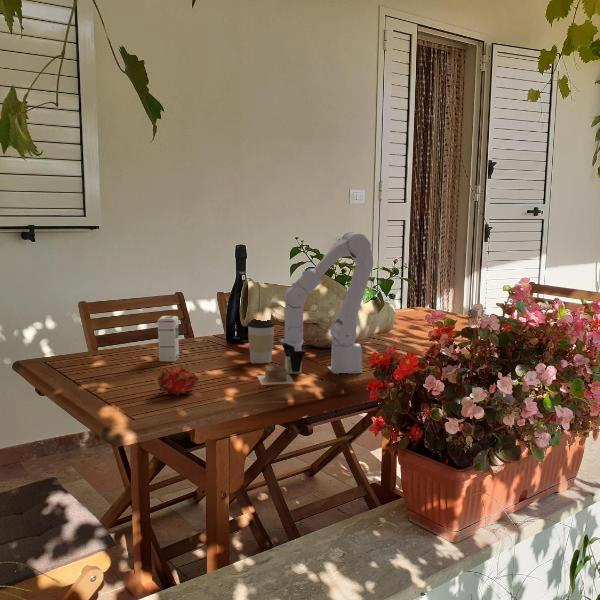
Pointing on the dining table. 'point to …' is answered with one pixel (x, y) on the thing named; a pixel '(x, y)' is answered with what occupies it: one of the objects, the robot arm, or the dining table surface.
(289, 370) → the sage block
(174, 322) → the syrup box
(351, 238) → the robot arm
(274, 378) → the walnut block
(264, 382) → the stone tile
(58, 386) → the dining table surface
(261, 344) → the coffee cup
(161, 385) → the dragon fruit
